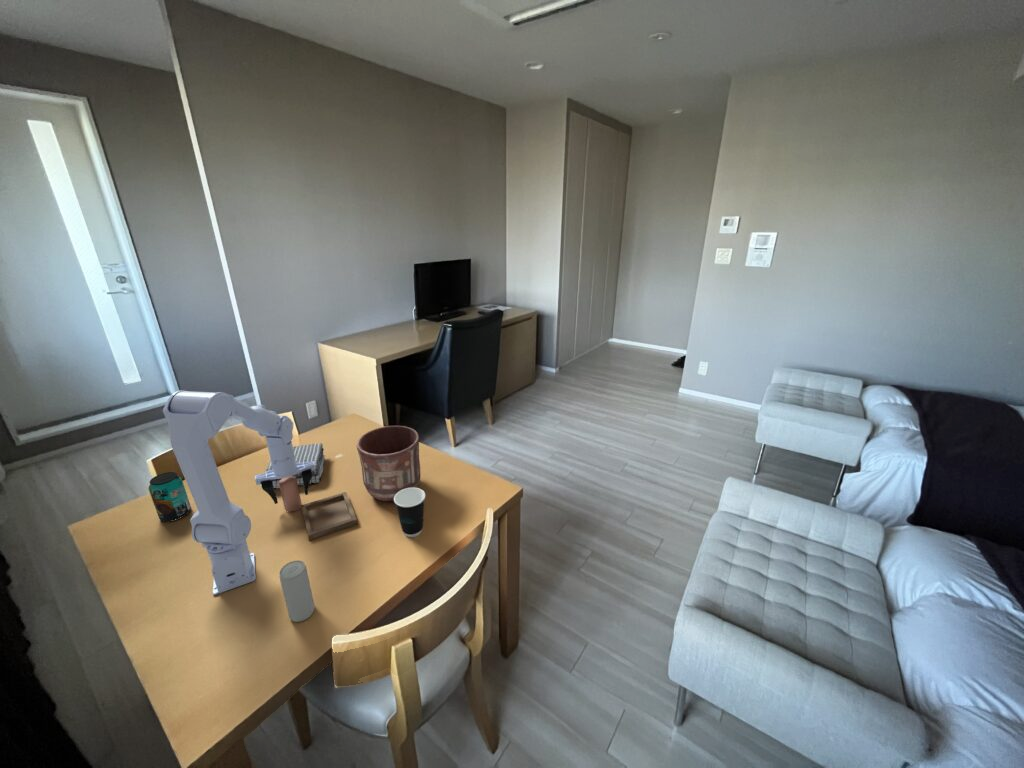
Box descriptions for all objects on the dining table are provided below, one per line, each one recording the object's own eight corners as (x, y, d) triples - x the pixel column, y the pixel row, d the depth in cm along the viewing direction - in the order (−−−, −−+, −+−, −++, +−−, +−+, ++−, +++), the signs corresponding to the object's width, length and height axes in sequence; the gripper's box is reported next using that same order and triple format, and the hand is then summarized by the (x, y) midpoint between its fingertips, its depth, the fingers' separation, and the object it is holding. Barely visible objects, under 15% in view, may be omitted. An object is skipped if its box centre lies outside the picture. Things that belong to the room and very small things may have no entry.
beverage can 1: (154, 517, 111) (140, 480, 107) (183, 503, 117) (171, 468, 113) (168, 526, 108) (154, 488, 104) (196, 511, 114) (185, 475, 110)
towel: (267, 494, 123) (262, 471, 120) (278, 462, 139) (273, 442, 136) (322, 484, 127) (318, 463, 124) (326, 455, 143) (322, 435, 141)
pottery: (355, 486, 126) (348, 435, 120) (408, 467, 136) (404, 419, 130) (375, 517, 113) (368, 462, 107) (432, 494, 123) (429, 443, 117)
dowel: (302, 508, 116) (297, 482, 113) (285, 513, 114) (279, 487, 110) (300, 500, 119) (295, 474, 116) (284, 505, 117) (278, 479, 114)
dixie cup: (422, 517, 113) (420, 484, 109) (431, 534, 107) (429, 500, 103) (394, 526, 110) (390, 492, 106) (401, 545, 103) (398, 510, 99)
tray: (357, 524, 110) (356, 519, 110) (309, 540, 104) (308, 535, 104) (346, 497, 121) (345, 491, 121) (302, 510, 115) (301, 505, 115)
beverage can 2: (284, 615, 84) (273, 571, 80) (307, 599, 88) (297, 556, 84) (297, 627, 82) (287, 582, 77) (320, 610, 86) (310, 566, 81)
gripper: (309, 443, 117) (316, 482, 122) (250, 456, 110) (261, 498, 115) (313, 454, 112) (320, 494, 117) (251, 469, 104) (262, 512, 109)
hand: (291, 497), depth 115 cm, fingers open, 7 cm apart
